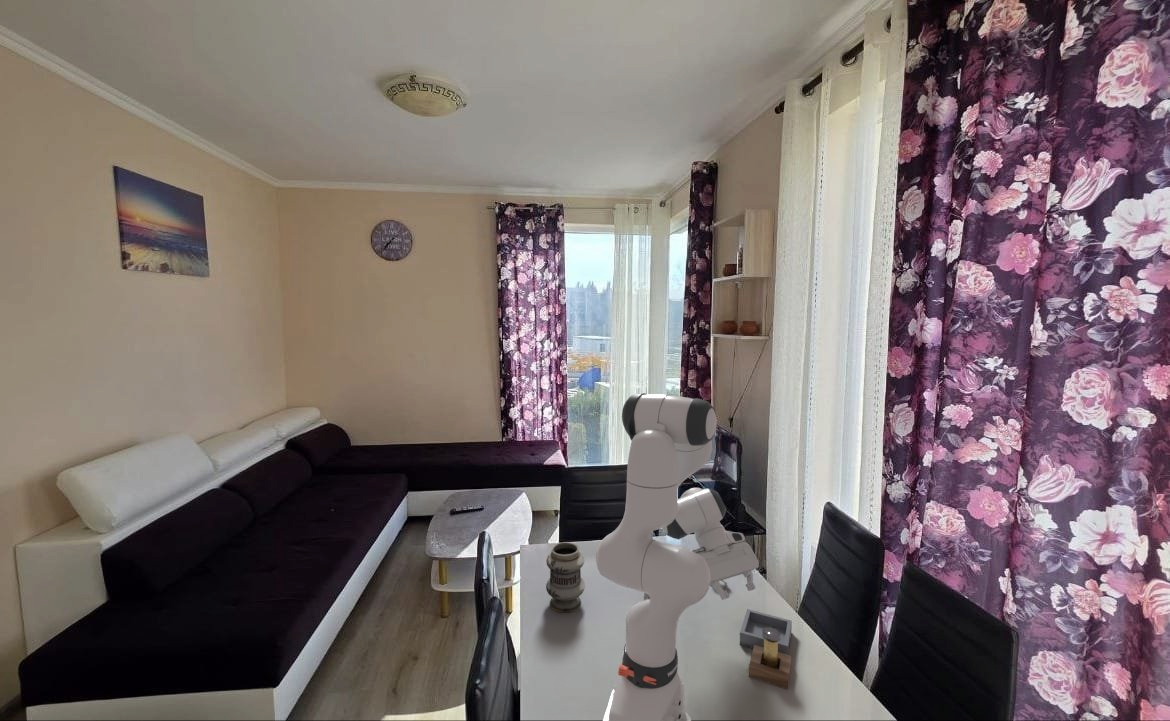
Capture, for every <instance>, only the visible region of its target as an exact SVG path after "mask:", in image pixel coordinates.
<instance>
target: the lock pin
mask: <svg viewBox="0 0 1170 721" xmlns="http://www.w3.org/2000/svg"><path fill="white" fill-rule="evenodd" d="M762 636H763V638H764V663H763V665H765V666H768V667H771V668H775V669H778V667H777V659H778V641H780V632H779V631H778V630H776V629H774V628H770V627H766V628H764V629H763V630H762Z"/></svg>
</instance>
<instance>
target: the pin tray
mask: <svg viewBox="0 0 1170 721" xmlns="http://www.w3.org/2000/svg"><path fill="white" fill-rule="evenodd" d="M792 622H793V621H792V620H790V619H787V618H783V617H779V616H776V615H772V614H767V613H764V612H761V611H757V610H753V609H749V608H747V609H746V612H745V615H744V619H743V622H742V625H741V628H740V631H739V645H740V646H742V645H743V647H747V648H749V649H752V650H753V648H754V645H756V646H760V647H763V648H764V638H763V636H762V630H763V629H764V628H766V627H770V628H774V629H776V630H778V631H779V632H780V641H778V652H780V653H783V654H786V655H789V653H790V645H791V637H792V626H793V625H792V624H793V623H792Z"/></svg>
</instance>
